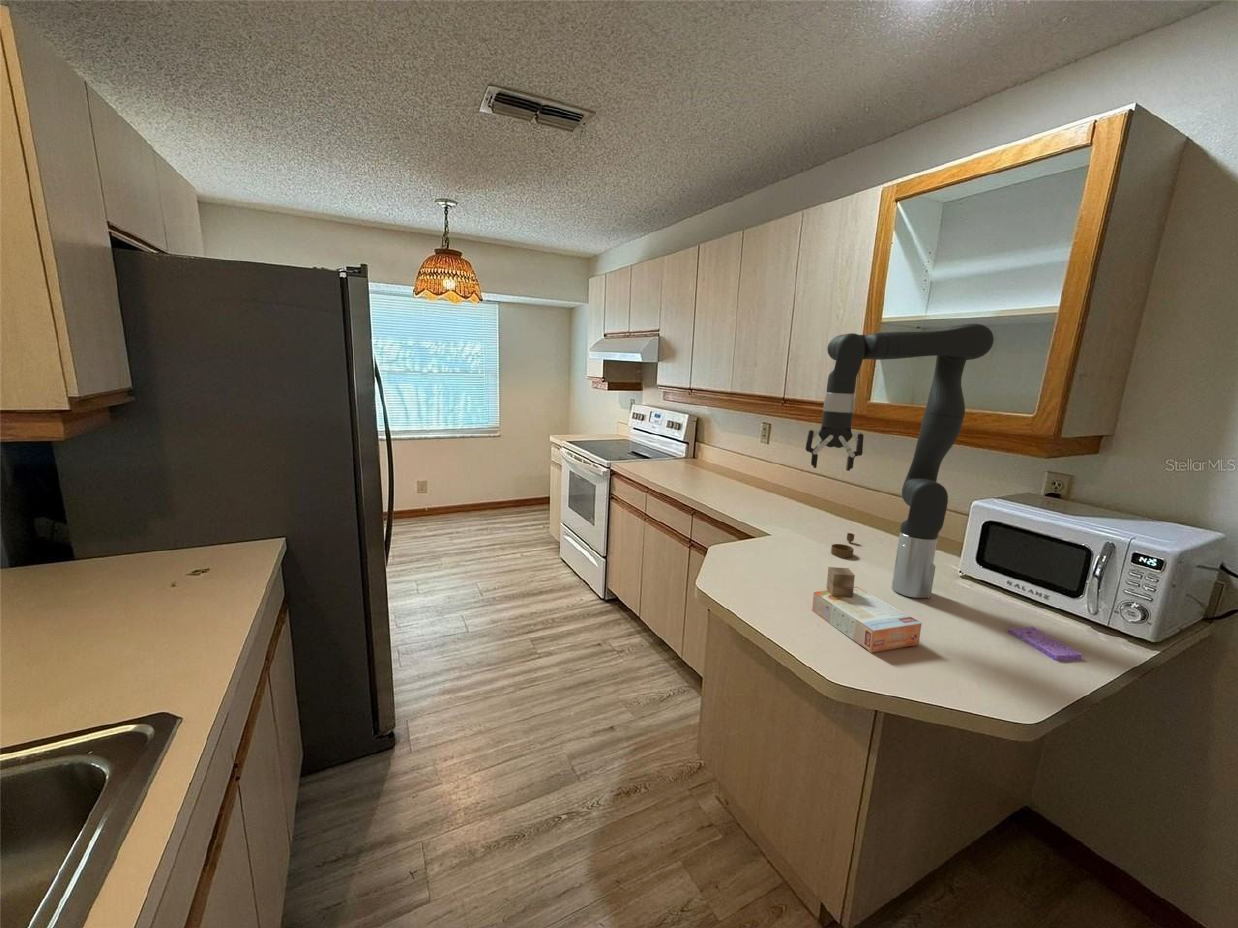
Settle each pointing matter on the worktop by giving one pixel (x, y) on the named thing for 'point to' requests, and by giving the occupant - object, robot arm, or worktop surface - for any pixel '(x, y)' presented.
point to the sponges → (1046, 644)
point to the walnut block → (840, 582)
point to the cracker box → (868, 620)
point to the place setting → (843, 548)
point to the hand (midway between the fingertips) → (831, 468)
